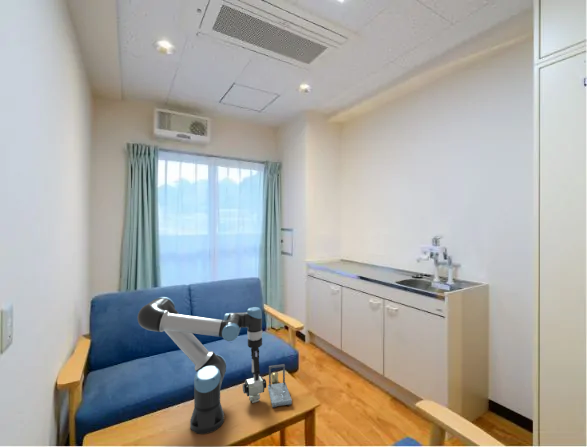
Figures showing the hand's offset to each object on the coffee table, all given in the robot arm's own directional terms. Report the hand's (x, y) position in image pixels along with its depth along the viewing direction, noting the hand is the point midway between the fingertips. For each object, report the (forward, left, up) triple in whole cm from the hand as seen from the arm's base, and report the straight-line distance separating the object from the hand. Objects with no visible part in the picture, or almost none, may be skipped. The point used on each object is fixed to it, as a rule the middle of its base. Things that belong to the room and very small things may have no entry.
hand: (255, 378), depth 144 cm
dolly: (+13, 0, -12) cm, 17 cm away
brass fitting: (+13, +15, -12) cm, 23 cm away
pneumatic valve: (0, 0, -12) cm, 12 cm away
